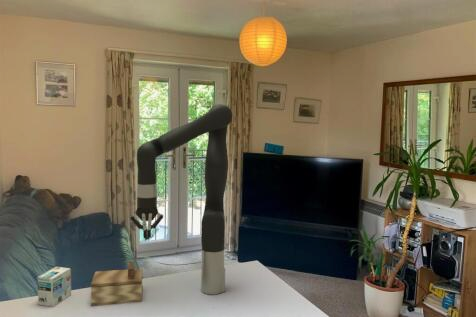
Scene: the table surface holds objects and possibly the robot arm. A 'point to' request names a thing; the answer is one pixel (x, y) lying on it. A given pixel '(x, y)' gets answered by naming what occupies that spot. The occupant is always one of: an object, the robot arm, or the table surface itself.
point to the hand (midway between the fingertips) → (147, 238)
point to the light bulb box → (54, 286)
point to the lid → (117, 277)
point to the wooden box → (116, 294)
